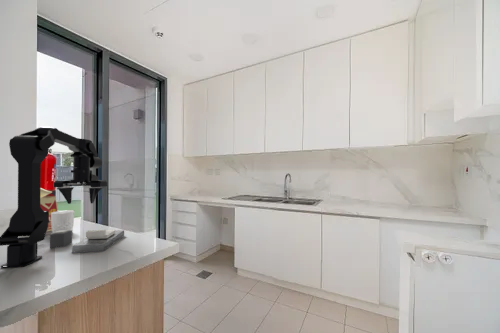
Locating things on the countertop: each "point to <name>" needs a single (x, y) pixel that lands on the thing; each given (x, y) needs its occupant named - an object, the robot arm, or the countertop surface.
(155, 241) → the countertop surface
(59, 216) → the white cup
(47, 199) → the milk carton
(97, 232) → the panel
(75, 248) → the socket plate
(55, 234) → the plug
